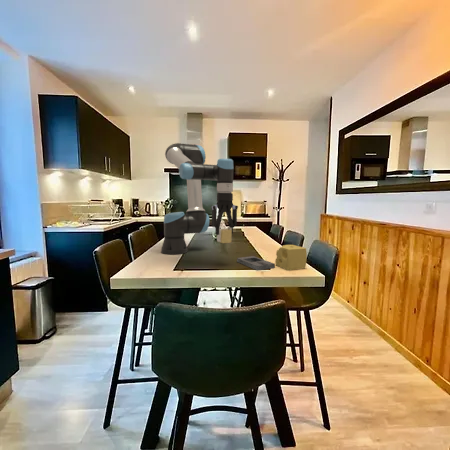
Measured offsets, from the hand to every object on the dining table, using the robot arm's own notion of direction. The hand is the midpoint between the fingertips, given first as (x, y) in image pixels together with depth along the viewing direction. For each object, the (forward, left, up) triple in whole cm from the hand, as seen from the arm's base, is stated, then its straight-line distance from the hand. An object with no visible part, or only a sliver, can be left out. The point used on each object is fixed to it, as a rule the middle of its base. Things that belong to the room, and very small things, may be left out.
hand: (224, 240), depth 134 cm
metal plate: (+6, +14, -12) cm, 19 cm away
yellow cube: (0, 0, 0) cm, 1 cm away
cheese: (+17, +27, -12) cm, 34 cm away
